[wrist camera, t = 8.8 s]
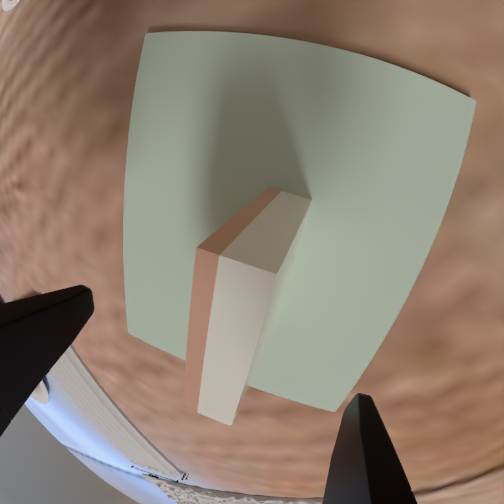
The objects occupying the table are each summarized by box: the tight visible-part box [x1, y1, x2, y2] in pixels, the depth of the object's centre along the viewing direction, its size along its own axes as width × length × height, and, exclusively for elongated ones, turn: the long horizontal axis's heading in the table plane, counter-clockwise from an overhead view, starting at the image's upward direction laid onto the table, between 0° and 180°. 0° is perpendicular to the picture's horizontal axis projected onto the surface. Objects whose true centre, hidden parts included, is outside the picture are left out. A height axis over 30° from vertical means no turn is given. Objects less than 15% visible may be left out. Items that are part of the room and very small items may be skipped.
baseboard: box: [50, 344, 189, 483], centre depth 30 cm, size 31×3×12 cm
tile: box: [183, 187, 312, 426], centre depth 12 cm, size 2×7×7 cm, turn 169°
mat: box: [123, 31, 476, 412], centre depth 15 cm, size 16×20×1 cm
